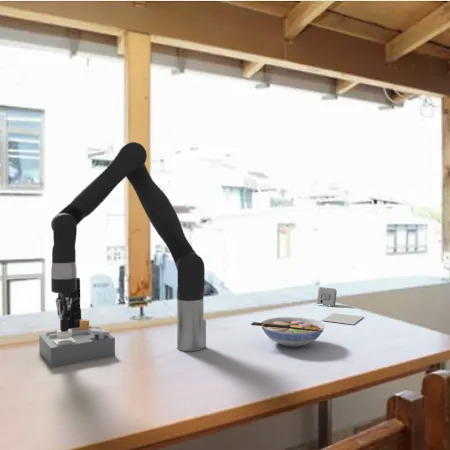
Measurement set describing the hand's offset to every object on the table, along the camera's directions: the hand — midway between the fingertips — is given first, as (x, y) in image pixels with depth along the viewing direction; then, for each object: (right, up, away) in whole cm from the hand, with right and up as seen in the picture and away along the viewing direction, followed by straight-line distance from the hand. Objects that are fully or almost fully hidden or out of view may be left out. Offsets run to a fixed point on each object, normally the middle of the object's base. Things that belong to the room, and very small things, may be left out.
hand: (64, 330), depth 138 cm
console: (+2, -10, +7) cm, 12 cm away
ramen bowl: (+75, -9, +17) cm, 78 cm away
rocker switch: (+9, -2, +6) cm, 11 cm away
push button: (0, -2, 0) cm, 2 cm away
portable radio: (-7, -9, +25) cm, 28 cm away
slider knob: (+2, -3, +13) cm, 14 cm away
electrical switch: (+104, -8, +86) cm, 135 cm away
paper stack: (+105, -9, +49) cm, 117 cm away
